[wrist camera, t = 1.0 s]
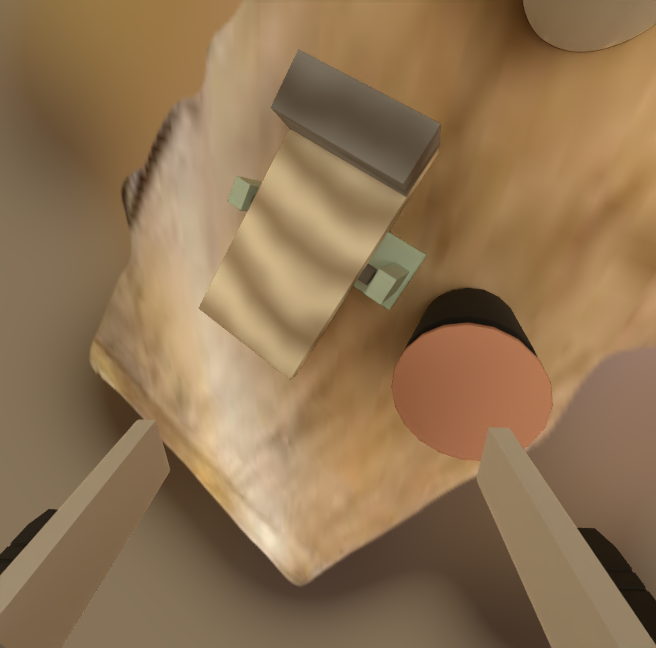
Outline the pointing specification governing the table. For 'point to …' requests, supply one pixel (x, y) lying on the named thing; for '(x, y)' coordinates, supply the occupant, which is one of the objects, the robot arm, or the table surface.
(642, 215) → the table surface
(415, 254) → the seesaw stand
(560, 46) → the utensil holder
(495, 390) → the coffee jar
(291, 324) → the seesaw plank
